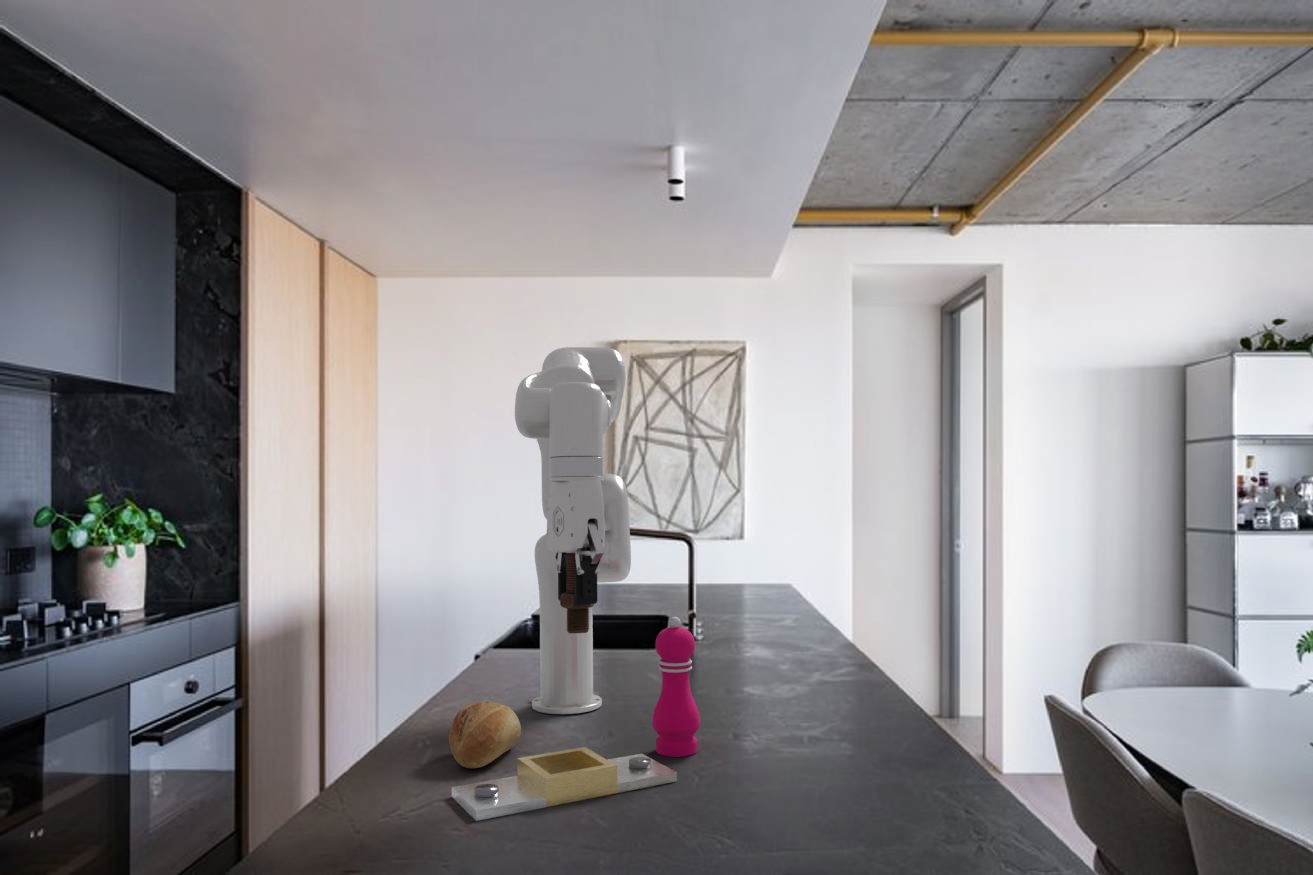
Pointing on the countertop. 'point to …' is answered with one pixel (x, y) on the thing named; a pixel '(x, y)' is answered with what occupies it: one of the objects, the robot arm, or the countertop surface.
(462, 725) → the bread roll
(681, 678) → the pepper mill
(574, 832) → the countertop surface
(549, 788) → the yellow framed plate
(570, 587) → the bolt
